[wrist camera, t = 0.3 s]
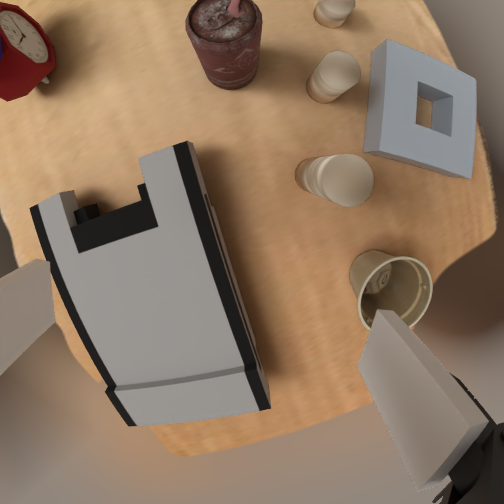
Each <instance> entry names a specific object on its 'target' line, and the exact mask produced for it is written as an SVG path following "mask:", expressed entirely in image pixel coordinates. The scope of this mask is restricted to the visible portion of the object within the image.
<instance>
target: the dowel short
mask: <svg viewBox="0 0 504 504" xmlns="http://www.w3.org/2000/svg"><path fill="white" fill-rule="evenodd" d="M354 7H355V0H319V1H318V3H317V6H316V8H315V10H314V18H315V19H316V21H317V22H318V23H319V24H320V25H322V26H324V27H327V28H338V27H340V26H341V25H342V24H343V22H344V21H345V20H346V18H347V17H348V15H349V14H350V13H351V11H352V10H353V9H354Z"/></svg>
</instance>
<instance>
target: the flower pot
mask: <svg viewBox="0 0 504 504" xmlns="http://www.w3.org/2000/svg"><path fill="white" fill-rule="evenodd" d="M385 275H387V277H386V280H385V282H384V283H383V284H382V280H383V279H384V277H385ZM349 278H350V283H351V286H352V287H353V290H354V292H355V294H356V297H357V299H358V301H357V309H358V314H359V318H360V320H361V322H362V324H363V325H364V326H365V328H367V329H368V330H369V331H370V330H371V327H372V324H373V321H374V318H375V315H376V311H377V309H380V310H392V311H394V312H395V313H396V314H397V315H398V316H399V317H400V318H401V319H402V320H403V321H404V323H405V324H406V325H407V326H408V327H409V328H411V327H412V326H413V325H415V324H416V323H417V322H418V320H419V319H420V318H421V317H422V316H423V314H424V313H425V311H426V309H427V307H428V305H429V303H430V300H431V296H432V288H433V287H432V278H431V275H430V272H429V270H428V269H427V267H426V266H425V265H424V264H423V263H422V262H420V261H419V260H417V259H415V258H413V257H409V256H397V257H395V256H392V255H389V254H386V253H383V252H381V251H377V250H371V251H368V252H365V253H363V254H361V255H359V256H358V257H357V258H356V260H355V261H354V262H353V264H352V266H351V269H350V273H349ZM364 288H367V290H366V291H364Z"/></svg>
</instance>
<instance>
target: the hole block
mask: <svg viewBox="0 0 504 504" xmlns="http://www.w3.org/2000/svg"><path fill="white" fill-rule="evenodd" d="M417 96H419V97H422V98H425V99H427V100H430V101H432V102H433V104H432V122H431V129H429V128H426V127H423V126H420V125H417V124H415V123H416V109H417ZM475 134H476V79H474V78H473V77H471V76H469V75H467V74H465V73H464V72H462V71H460V70H458V69H456V68H454V67H452V66H450V65H448V64H446V63H444V62H442V61H439V60H437V59H435V58H433V57H431V56H428V55H426V54H424V53H422V52H419V51H417V50H414V49H412V48H409V47H407V46H404V45H402V44H399V43H396V42H394V41H391V40H388V39H386V40H385V41H384V42H383V43H382V44H380V45H379V46H378V47H377V48H376V49H374V50H373V51H372V52H371V71H370V86H369V99H368V110H367V120H366V130H365V138H364V147H363V152H364V153H369V154H373V155H377V156H381V157H385V158H389V159H392V160H396V161H400V162H404V163H407V164H411V165H414V166H418V167H421V168H424V169H428V170H431V171H434V172H437V173H441V174H444V175H447V176H450V177H458V178H466V179H471V177H472V169H473V160H474V148H475Z"/></svg>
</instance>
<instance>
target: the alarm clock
mask: <svg viewBox="0 0 504 504" xmlns="http://www.w3.org/2000/svg"><path fill="white" fill-rule="evenodd" d="M55 67H56V60H55V49H54V46H53V45H52V43H51V42H50V40H49V39H48V37H47V36H46V34H45V32H44V31H43V29H42V28H41V26H40V25H39V23H37V22H36V21H35V20H34V19H33V18H32V17H30V16H29V15H28V14H27V13H26V12H24V11H23V10H22V9H21V8H20V7H19V6H17V5H12V4H7V3H2V2H0V98H2V99H4V100H5V101H7V102H8V101H11V100H14V99H17V98H20V97H23V96H26V95H28V94H29V93H30V91H31V90H32V89H33V88H34V87H35V86H36V85H37V84H38V83H39V82H40V81H41V82H43V83H45V84H48V83H49V79H48V78H47V75H48V74H49V73H50V72H51V71H52V70H53V69H54V68H55Z"/></svg>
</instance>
